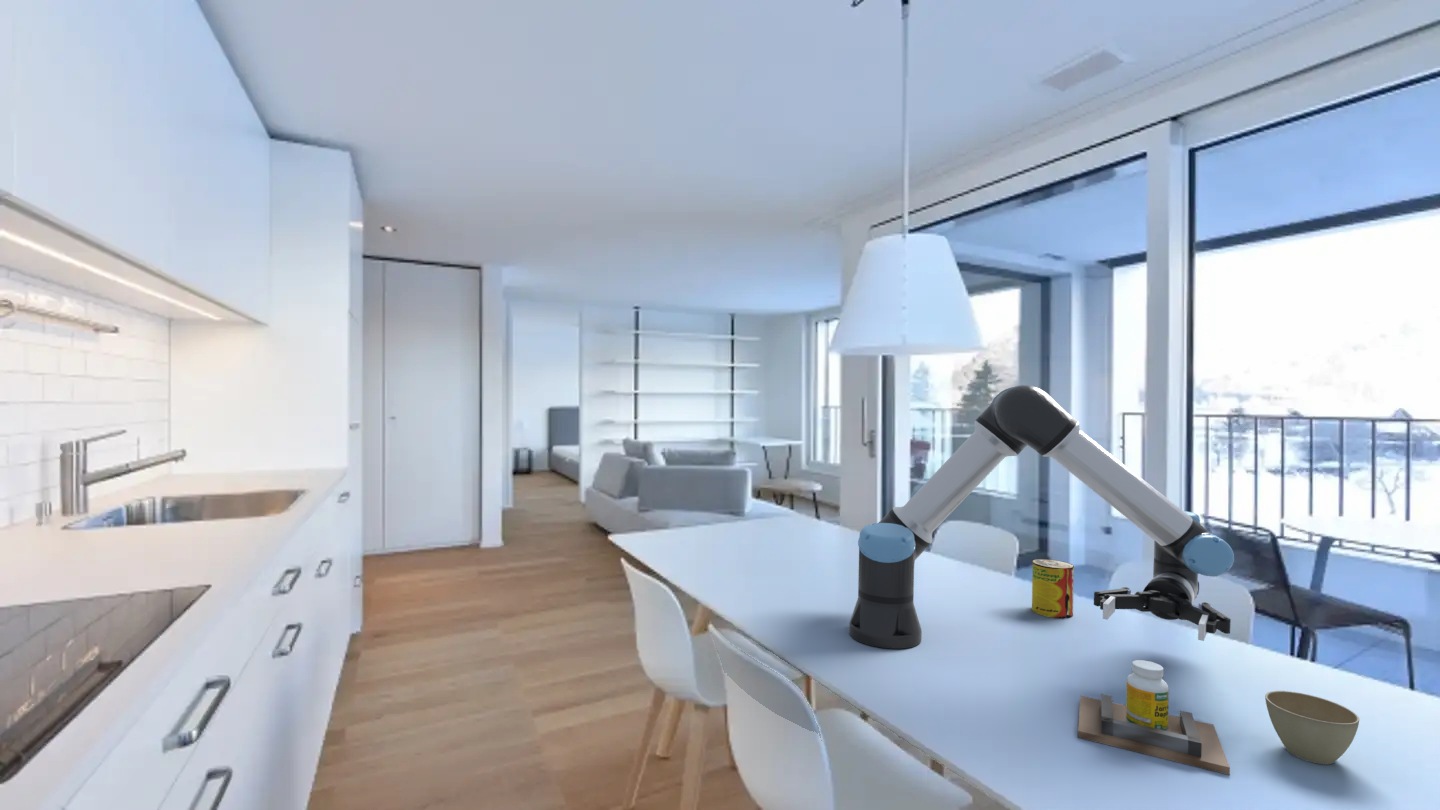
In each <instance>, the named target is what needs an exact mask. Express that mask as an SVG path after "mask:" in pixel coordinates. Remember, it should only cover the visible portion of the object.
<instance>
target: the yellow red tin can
mask: <svg viewBox="0 0 1440 810" xmlns="http://www.w3.org/2000/svg"><path fill="white" fill-rule="evenodd" d="M1074 574H1075V566H1074V564H1072V563H1070V562H1066V561H1064V560H1063V561H1062V560H1057V559H1046V558H1044V559H1043V558H1040V559H1034V560H1032V577H1031V578H1032V583H1031V586H1032V587H1031V593H1032V594H1031V610H1032V612H1033V613H1035V614H1038V615H1040V616H1044V617H1048V618H1054V619H1070V618H1073V616H1074V587H1075V585H1074V584H1075V582H1074V579H1075V575H1074Z"/></svg>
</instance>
